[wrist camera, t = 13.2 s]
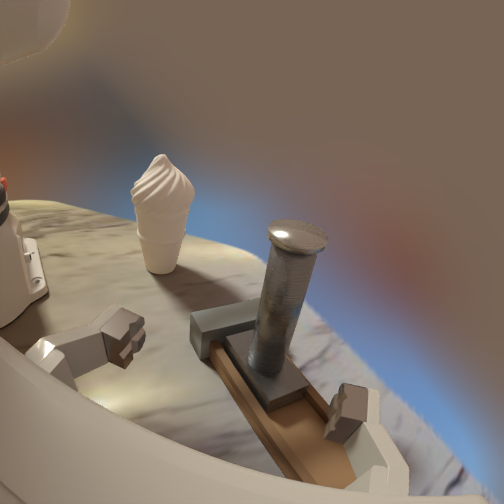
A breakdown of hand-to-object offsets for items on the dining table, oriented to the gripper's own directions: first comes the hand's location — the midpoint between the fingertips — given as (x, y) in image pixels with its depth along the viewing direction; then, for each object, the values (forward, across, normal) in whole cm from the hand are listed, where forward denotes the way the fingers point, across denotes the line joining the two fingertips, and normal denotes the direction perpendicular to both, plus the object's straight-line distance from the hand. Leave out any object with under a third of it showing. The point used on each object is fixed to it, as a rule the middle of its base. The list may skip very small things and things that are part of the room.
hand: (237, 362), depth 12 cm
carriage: (+11, -1, +14) cm, 18 cm away
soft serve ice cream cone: (+25, +18, +17) cm, 35 cm away
